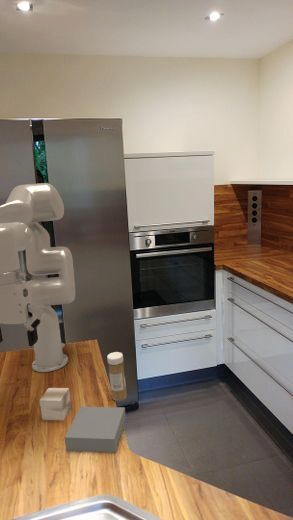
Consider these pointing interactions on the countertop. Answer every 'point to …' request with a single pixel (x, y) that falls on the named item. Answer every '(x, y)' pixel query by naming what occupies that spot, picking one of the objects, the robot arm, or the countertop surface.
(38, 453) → the countertop surface
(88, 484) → the countertop surface
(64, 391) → the cream cube
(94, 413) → the slate block
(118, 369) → the sprinkles bottle
